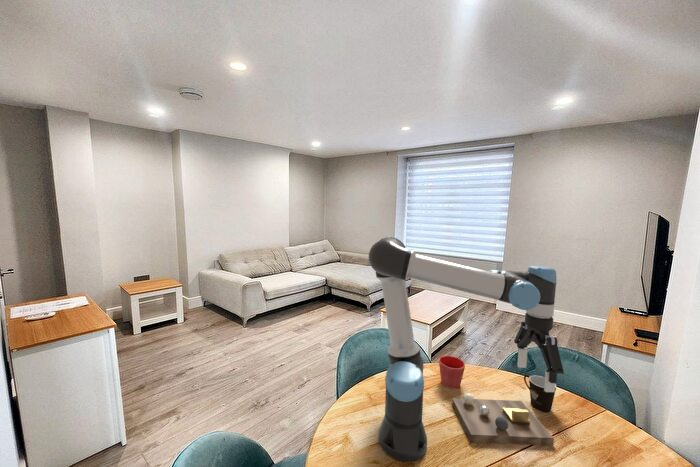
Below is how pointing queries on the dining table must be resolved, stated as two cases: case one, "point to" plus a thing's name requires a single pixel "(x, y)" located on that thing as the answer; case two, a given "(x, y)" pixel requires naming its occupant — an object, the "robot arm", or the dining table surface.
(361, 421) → the dining table surface
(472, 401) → the cream ball
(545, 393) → the coffee mug
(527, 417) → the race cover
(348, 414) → the dining table surface
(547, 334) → the robot arm
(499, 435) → the board
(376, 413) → the dining table surface
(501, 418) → the grey ball
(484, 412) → the steel ball
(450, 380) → the flower pot
